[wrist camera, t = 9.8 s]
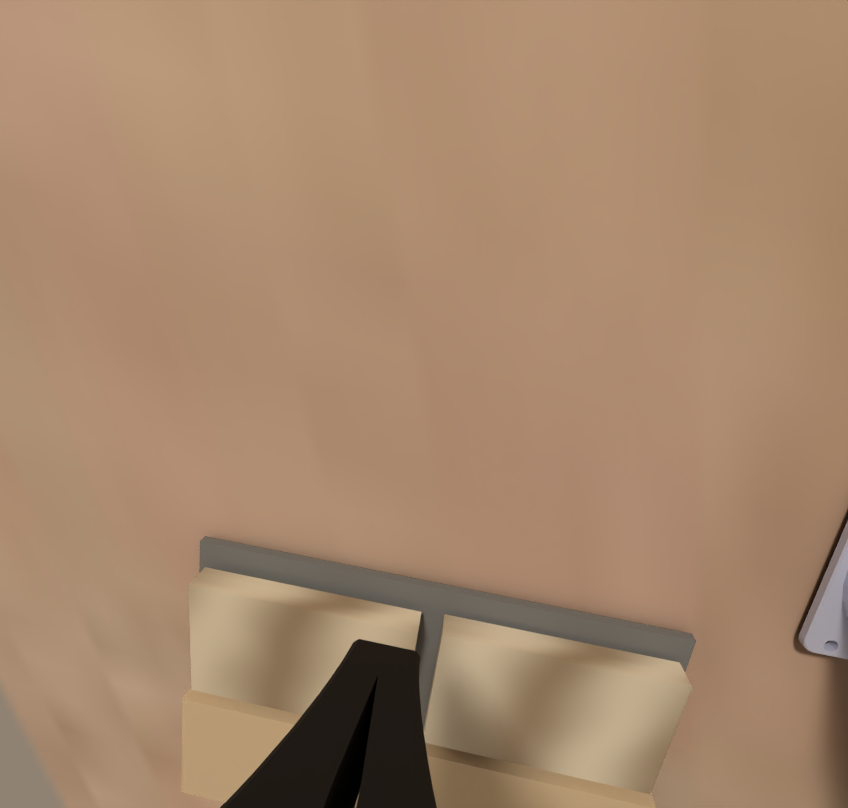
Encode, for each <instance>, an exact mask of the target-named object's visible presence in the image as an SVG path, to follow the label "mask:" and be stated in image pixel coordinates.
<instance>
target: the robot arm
mask: <svg viewBox="0 0 848 808" xmlns="http://www.w3.org/2000/svg"><path fill="white" fill-rule="evenodd" d="M798 639H799V641H800V643H801V644H802V645H803V646H804V647H805V648H806V649H807V650H808V651H810V652H812V653H817V654H822V655H827V656H832V657H837V658H842V659H847V660H848V521H847V523H846V525H845V528H844V530H843V532H842V535H841V537H840V540H839V542H838V544H837V547H836V549H835V551H834V554H833V556H832V558H831V561H830V563H829V565H828V568H827V570H826V572H825V575H824V577H823V580H822V582H821V584H820V587H819V589H818V591H817V594H816V596H815V598H814V601H813V603H812V605H811V608H810V610H809V612H808V615H807V617H806V620H805V622H804V624H803V627H802V629H801V631H800V634H799V638H798ZM828 641H829V643H826V642H828ZM825 643H826V644H825ZM419 664H420V656H419V655H418V653H417V652H416V651H414V650H409V649H404V648H400V647H395V646H390V645H386V644H381V643H376V642H372V641H367V640H362V639H358V640H356V641H355V642H353V644H352V645H351V647H350V649H349V651H348V652H347V654H346V655H345V657H344V659H343V660H342V662H341V663H340V665H339V666H338V668H337V669H336V671H335V672H334V674H333V675H332V677H331V678H330V679H329V681H328V682H327V683H326V685H325V686H324V688H323V689H322V690H321V692H320V693H319V694H318V696H317V697H316V698H315V700H314V701H313V702H312V703H311V705H310V706H309V707H308V708H307V710H306V711H305V712H304V714H303V715H302V716H301V717H300V719H299V720H298V721H297V723H296V724H295V725H294V726H293V727H292V729H291V730H290V731H289V732H288V734H287V735H286V736H285V737H284V738H283V739H282V740H281V742H280V743H279V744H278V745H277V746H276V747H275V748H274V750H273V751H272V752H271V753H270V754H269V755H268V757H267V758H266V759H265V760H264V761H263V762H262V763H261V765H260V766H259V767H258V768H257V769H256V770H255V771H254V772H253V774H252V775H251V776H250V777H249V778H248V779H247V780H246V781H245V782H244V783H243V784H242V785H241V787H240V788H239V789H238V790H237V791H236V792H235V793H234V794H233V795H232V796H231V797H230V798H229V799H228V800H227V801H226V802H225V803H224V804H223V805H222V806H221V807H220V808H355V804H356V801H357V798H358V801H357V806H356V808H437V806H436V801H435V796H434V791H433V786H432V781H431V775H430V770H429V764H428V757H427V751H426V744H425V738H424V731H423V723H422V714H421V703H420V689H419ZM358 795H359V796H358Z"/></svg>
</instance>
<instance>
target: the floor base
mask: <svg viewBox="0 0 848 808" xmlns="http://www.w3.org/2000/svg"><path fill="white" fill-rule="evenodd" d="M205 567H207V568H211V569H216V570H221V571H226V572H231V573H236V574H241V575H245V576H250V577H255V578H260V579H265V580H270V581H275V582H279V583H284V584H289V585H294V586H299V587H304V588H309V589H313V590H318V591H323V592H328V593H333V594H338V595H342V596H347V597H352V598H357V599H362V600H367V601H372V602H376V603H381V604H386V605H391V606H396V607H401V608H406V609H410V610H415V611H420V612H421V618H420V624H419V630H418V636H417V642H416V649H415V651H416V652H417V653H418V655H419V656H420V664H419V689H420V703H421V714H422V723H423V731H424V725H425V717H426V712H427V706H428V701H429V695H430V690H431V685H432V679H433V674H434V668H435V663H436V657H437V652H438V647H439V641H440V636H441V630H442V625H443V619H444V614H446V615H451V616H456V617H461V618H466V619H471V620H476V621H480V622H485V623H490V624H495V625H500V626H505V627H510V628H514V629H519V630H524V631H529V632H534V633H539V634H544V635H549V636H553V637H558V638H563V639H568V640H573V641H578V642H583V643H587V644H592V645H597V646H602V647H607V648H612V649H617V650H621V651H626V652H631V653H636V654H641V655H646V656H651V657H655V658H660V659H665V660H670V661H675V662H680V664H681V666H682V668H683V670H684V672H685V671H686V668H687V665H688V662H689V659H690V657H691V654H692V651H693V648H694V645H695V643H696V640H695V638H694V637H693V635H692V634H690V633H685V632H680V631H675V630H670V629H665V628H660V627H655V626H651V625H646V624H641V623H636V622H631V621H626V620H621V619H616V618H611V617H606V616H601V615H596V614H591V613H586V612H581V611H576V610H571V609H566V608H561V607H556V606H551V605H546V604H541V603H536V602H531V601H526V600H521V599H516V598H511V597H506V596H501V595H496V594H491V593H486V592H481V591H476V590H471V589H466V588H461V587H456V586H451V585H446V584H441V583H436V582H431V581H426V580H421V579H416V578H411V577H406V576H401V575H396V574H391V573H386V572H381V571H376V570H371V569H366V568H361V567H356V566H351V565H346V564H341V563H336V562H331V561H326V560H321V559H316V558H311V557H306V556H301V555H296V554H291V553H286V552H281V551H276V550H271V549H266V548H261V547H256V546H251V545H246V544H241V543H236V542H231V541H226V540H221V539H216V538H211V537H206V536H205V537H204V538H203V539H202V540H201V541H200V572H201V571H202V570H203V569H204V568H205ZM301 716H302V715H300V714H295V713H291V712H287V711H282V710H278V709H274V708H269V707H265V706H261V705H256V704H252V703H247V702H243V701H239V700H234V699H230V698H226V697H221V696H217V695H213V694H208V693H204V692H200V691H195V690H192V686H191V688H190V689H189V690H188V692H187V693H186V695H185V696H184V697H183V699H182V792H183V793H187V794H191V795H195V796H199V797H203V798H207V799H211V800H215V801H219V802H223V803H225V802H226V801H227V800H228V799H229V798H230V797H231V796H232V795H233V794H234V793H235V792H236V791H237V790H238V789H239V788H240V787H241V785H242V784H243V783H244V782H245V781H246V780H247V779H248V778H249V777H250V776H251V775H252V774H253V772H254V771H255V770H256V769H257V768H258V767H259V766H260V765H261V763H262V762H263V761H264V760H265V759H266V758H267V757H268V755H269V754H270V753H271V752H272V751H273V750H274V748H275V747H276V746H277V745H278V744H279V743H280V742H281V740H282V739H283V738H284V737H285V736H286V735H287V734H288V732H289V731H290V730H291V729H292V727H293V726H294V725H295V724H296V723H297V721H298V720H299V719H300V717H301ZM425 744H426V751H427V757H428V764H429V770H430V775H431V781H432V786H433V791H434V796H435V801H436V806H437V808H656V806H655V803H654V800H653V797H652V794H651V793H650V794H646V793H642V792H637V791H633V790H628V789H624V788H620V787H615V786H611V785H607V784H602V783H598V782H594V781H589V780H585V779H581V778H576V777H572V776H567V775H563V774H559V773H554V772H550V771H546V770H541V769H537V768H533V767H528V766H524V765H520V764H515V763H511V762H506V761H502V760H498V759H493V758H489V757H485V756H480V755H476V754H472V753H467V752H463V751H459V750H454V749H450V748H445V747H441V746H437V745H432V744H428V743H425ZM358 796H359V795H358ZM357 801H358V798H357ZM357 801H356V804H355V808H356V806H357Z"/></svg>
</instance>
